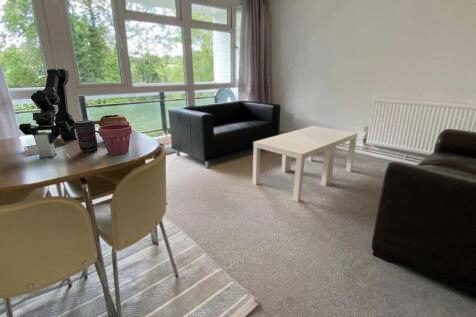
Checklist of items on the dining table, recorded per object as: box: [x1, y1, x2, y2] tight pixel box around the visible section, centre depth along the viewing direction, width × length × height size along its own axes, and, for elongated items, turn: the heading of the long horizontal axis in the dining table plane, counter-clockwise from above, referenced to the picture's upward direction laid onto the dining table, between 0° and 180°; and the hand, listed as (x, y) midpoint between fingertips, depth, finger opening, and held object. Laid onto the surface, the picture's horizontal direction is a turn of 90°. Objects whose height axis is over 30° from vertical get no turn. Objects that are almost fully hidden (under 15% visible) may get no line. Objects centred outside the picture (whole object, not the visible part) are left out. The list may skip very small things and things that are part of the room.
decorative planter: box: [92, 114, 130, 134], centre depth 147 cm, size 20×12×14 cm, turn 128°
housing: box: [33, 131, 58, 160], centre depth 119 cm, size 5×5×12 cm
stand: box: [23, 144, 39, 156], centre depth 128 cm, size 9×9×3 cm
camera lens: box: [75, 119, 99, 154], centre depth 127 cm, size 8×8×15 cm
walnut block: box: [53, 137, 65, 148], centre depth 138 cm, size 5×5×4 cm
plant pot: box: [97, 124, 133, 156], centre depth 126 cm, size 14×14×13 cm
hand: (44, 144), depth 117 cm, fingers closed on housing, 5 cm apart
